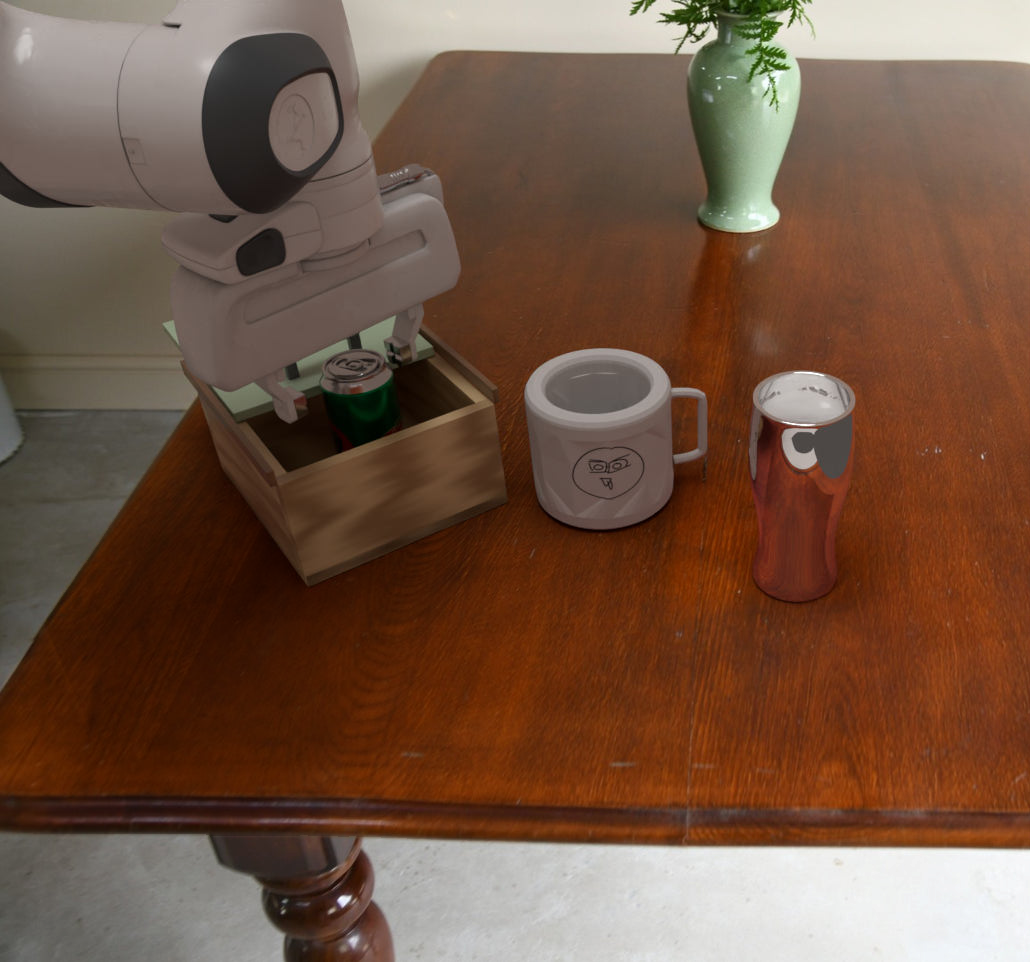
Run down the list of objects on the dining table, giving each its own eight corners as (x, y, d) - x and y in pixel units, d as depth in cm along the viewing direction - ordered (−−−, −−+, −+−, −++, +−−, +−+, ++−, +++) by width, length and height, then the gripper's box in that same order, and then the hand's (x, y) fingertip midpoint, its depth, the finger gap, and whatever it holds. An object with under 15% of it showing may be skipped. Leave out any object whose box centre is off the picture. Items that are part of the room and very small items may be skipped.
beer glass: (863, 582, 80) (881, 404, 71) (785, 621, 77) (793, 439, 68) (803, 531, 85) (813, 357, 76) (727, 565, 81) (727, 388, 72)
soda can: (398, 525, 83) (368, 387, 76) (336, 514, 84) (301, 377, 77) (429, 485, 87) (403, 350, 80) (370, 475, 88) (339, 341, 81)
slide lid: (236, 423, 80) (220, 373, 77) (164, 331, 90) (149, 285, 88) (435, 355, 87) (426, 308, 85) (347, 278, 98) (338, 234, 95)
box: (301, 590, 79) (266, 473, 73) (215, 470, 91) (179, 360, 84) (513, 499, 88) (498, 387, 81) (411, 400, 99) (391, 296, 93)
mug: (541, 541, 83) (527, 429, 77) (532, 458, 92) (519, 351, 86) (720, 519, 86) (720, 409, 80) (695, 440, 94) (694, 335, 88)
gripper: (405, 145, 80) (433, 319, 88) (133, 241, 67) (196, 435, 75) (466, 166, 77) (489, 344, 85) (193, 270, 64) (252, 469, 72)
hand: (350, 387), depth 80 cm, fingers open, 8 cm apart
